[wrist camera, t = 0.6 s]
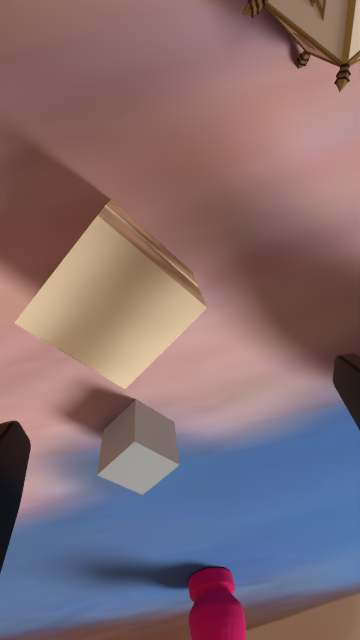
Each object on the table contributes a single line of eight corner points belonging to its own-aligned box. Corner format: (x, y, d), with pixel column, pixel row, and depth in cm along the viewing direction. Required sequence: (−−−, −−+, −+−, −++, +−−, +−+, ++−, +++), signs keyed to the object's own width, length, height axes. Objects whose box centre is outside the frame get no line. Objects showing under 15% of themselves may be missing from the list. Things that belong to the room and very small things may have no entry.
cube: (174, 421, 27) (179, 465, 23) (142, 448, 28) (142, 494, 25) (135, 398, 25) (134, 441, 22) (103, 429, 27) (97, 474, 23)
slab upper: (198, 287, 18) (207, 307, 16) (127, 360, 20) (124, 389, 18) (105, 206, 16) (97, 215, 13) (33, 299, 18) (14, 323, 15)
